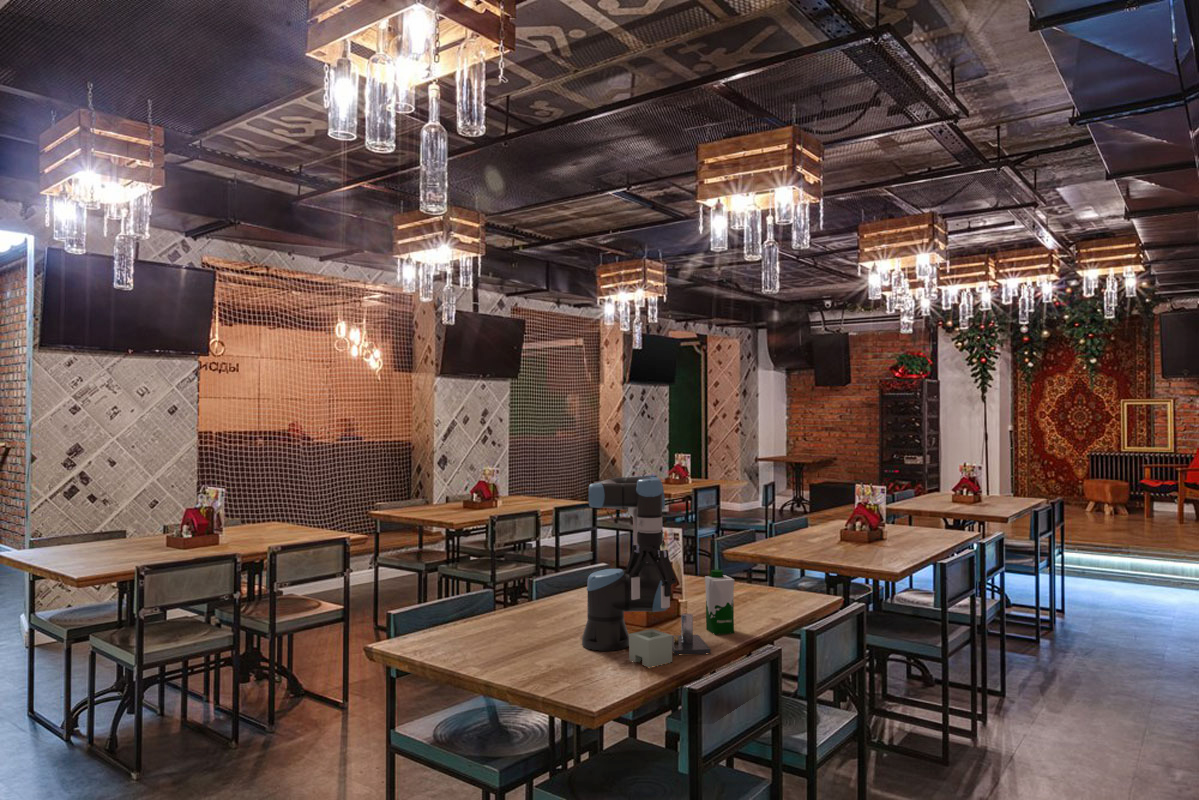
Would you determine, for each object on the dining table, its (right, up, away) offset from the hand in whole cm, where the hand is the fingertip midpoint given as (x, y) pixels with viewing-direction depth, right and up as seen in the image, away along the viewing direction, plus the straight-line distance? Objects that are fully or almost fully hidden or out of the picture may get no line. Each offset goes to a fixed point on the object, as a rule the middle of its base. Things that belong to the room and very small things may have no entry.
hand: (650, 603), depth 231 cm
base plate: (+12, -17, +14) cm, 26 cm away
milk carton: (+26, -18, +32) cm, 45 cm away
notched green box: (0, -17, 0) cm, 17 cm away
